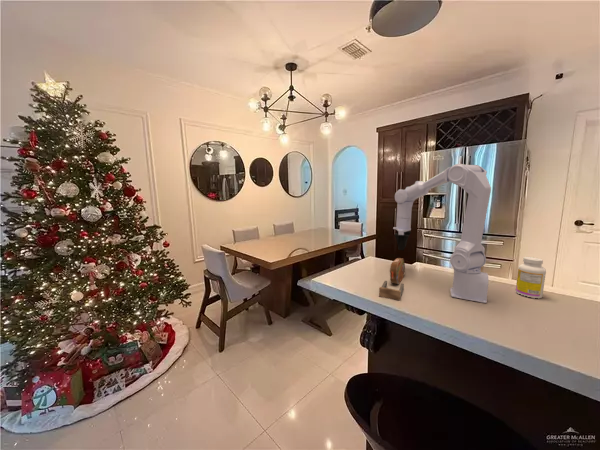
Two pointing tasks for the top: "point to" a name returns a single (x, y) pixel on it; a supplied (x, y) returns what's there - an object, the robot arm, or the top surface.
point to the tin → (397, 270)
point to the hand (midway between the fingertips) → (402, 248)
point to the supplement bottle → (531, 277)
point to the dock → (390, 292)
